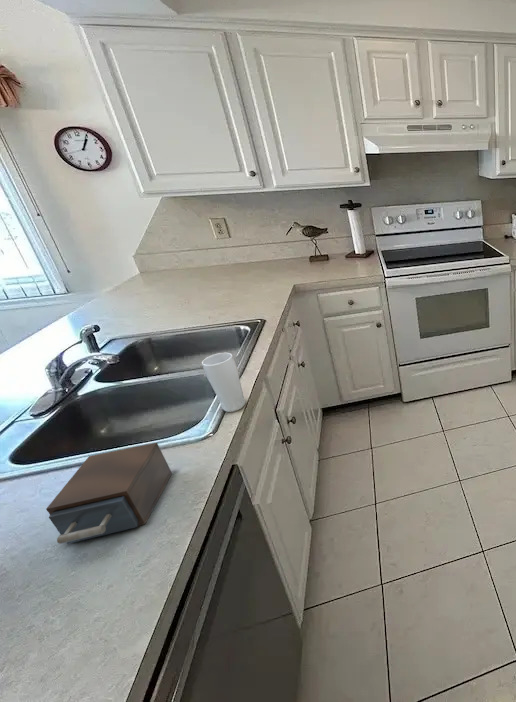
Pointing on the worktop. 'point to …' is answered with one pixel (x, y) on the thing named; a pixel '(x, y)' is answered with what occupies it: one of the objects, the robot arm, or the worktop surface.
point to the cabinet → (118, 480)
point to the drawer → (93, 519)
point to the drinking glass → (224, 380)
